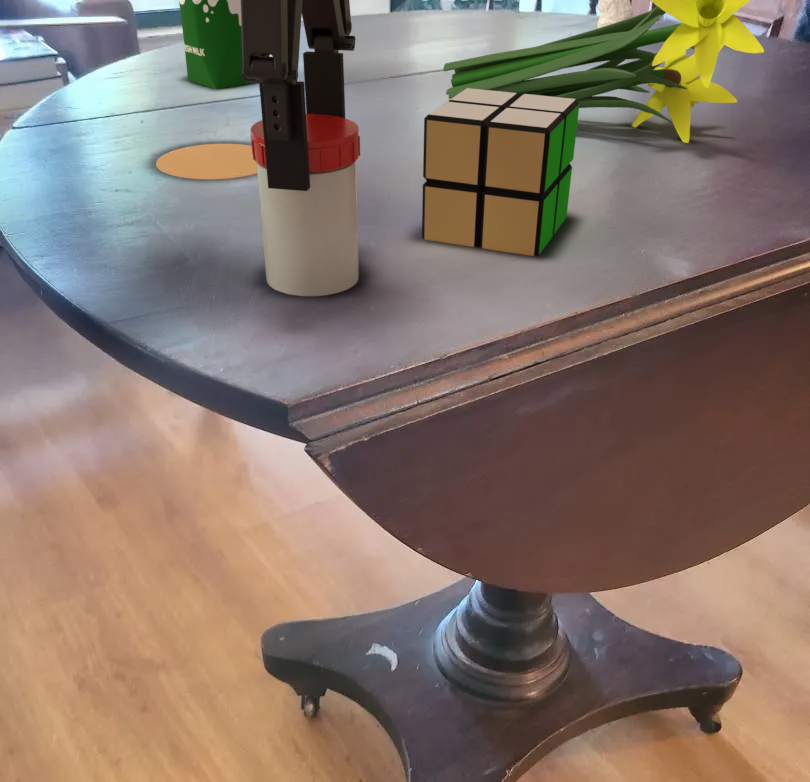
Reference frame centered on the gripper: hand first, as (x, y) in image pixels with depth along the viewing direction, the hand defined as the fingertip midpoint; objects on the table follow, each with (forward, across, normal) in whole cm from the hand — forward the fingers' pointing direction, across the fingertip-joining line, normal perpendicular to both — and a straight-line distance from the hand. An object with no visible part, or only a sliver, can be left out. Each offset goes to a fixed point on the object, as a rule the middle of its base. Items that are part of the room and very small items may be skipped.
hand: (309, 167), depth 66 cm
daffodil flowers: (+9, +46, -17) cm, 50 cm away
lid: (-2, 0, 0) cm, 2 cm away
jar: (+8, 0, 0) cm, 8 cm away
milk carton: (+8, +59, +30) cm, 67 cm away
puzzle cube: (+9, +14, -12) cm, 20 cm away
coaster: (+8, +26, +18) cm, 33 cm away
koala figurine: (+9, +97, -17) cm, 99 cm away
